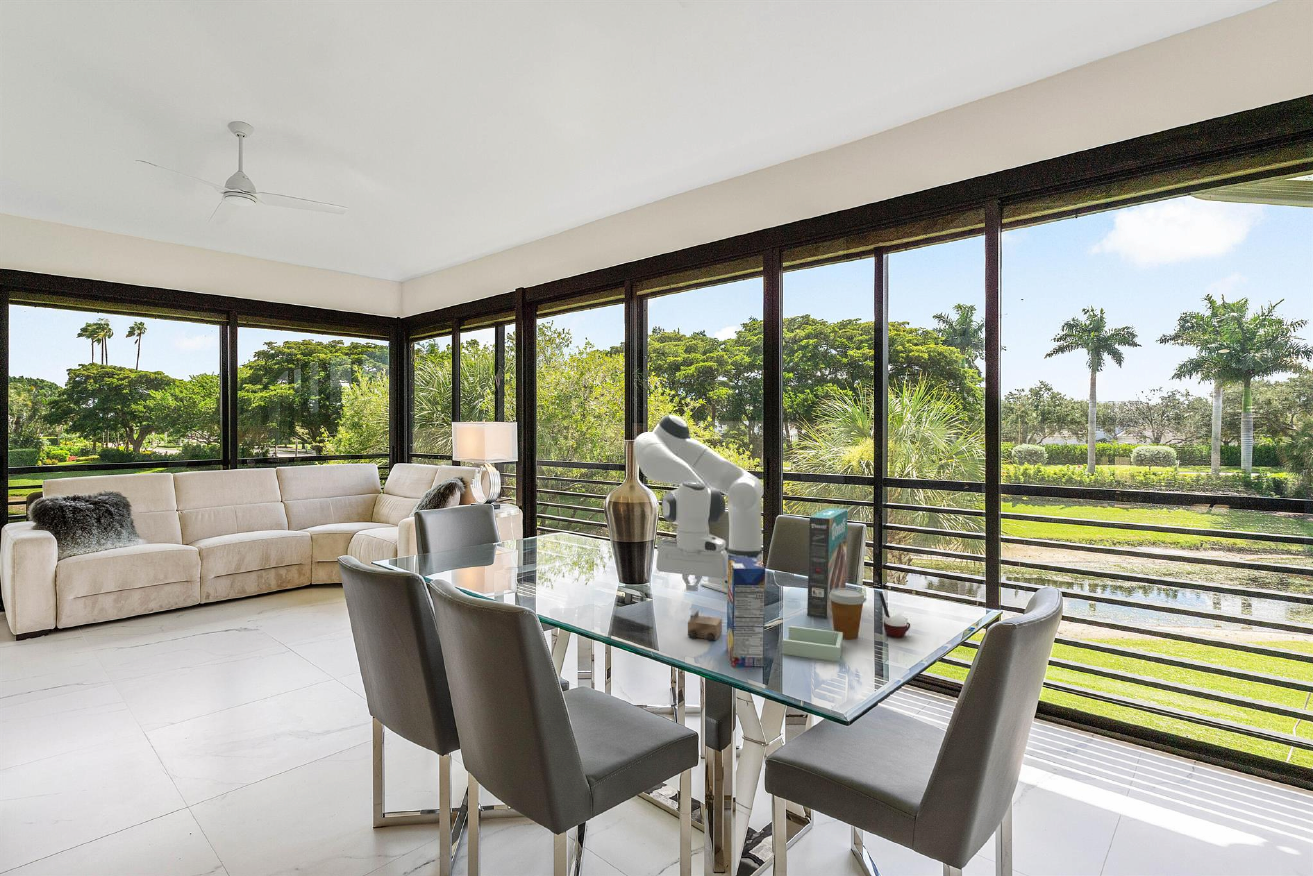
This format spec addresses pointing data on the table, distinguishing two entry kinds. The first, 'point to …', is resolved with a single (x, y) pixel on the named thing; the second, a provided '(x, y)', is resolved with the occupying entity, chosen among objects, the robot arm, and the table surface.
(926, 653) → the table surface
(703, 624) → the cart
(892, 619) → the cocoa
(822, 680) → the table surface
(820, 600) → the cake mix box
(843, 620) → the disposable coffee cup
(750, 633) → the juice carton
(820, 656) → the bay
